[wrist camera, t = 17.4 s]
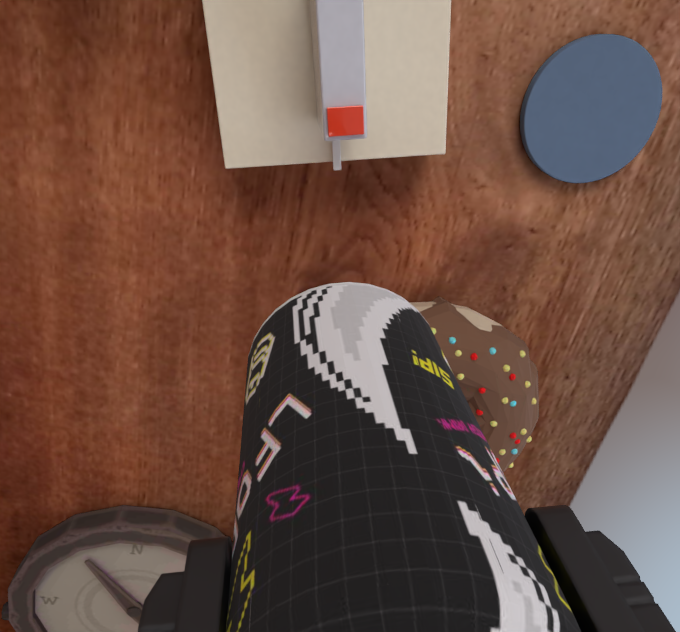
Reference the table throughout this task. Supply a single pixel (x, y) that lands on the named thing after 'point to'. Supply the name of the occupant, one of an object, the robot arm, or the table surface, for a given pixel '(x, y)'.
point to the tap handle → (339, 68)
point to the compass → (99, 569)
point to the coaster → (591, 108)
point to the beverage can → (374, 484)
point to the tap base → (299, 89)
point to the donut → (488, 374)
